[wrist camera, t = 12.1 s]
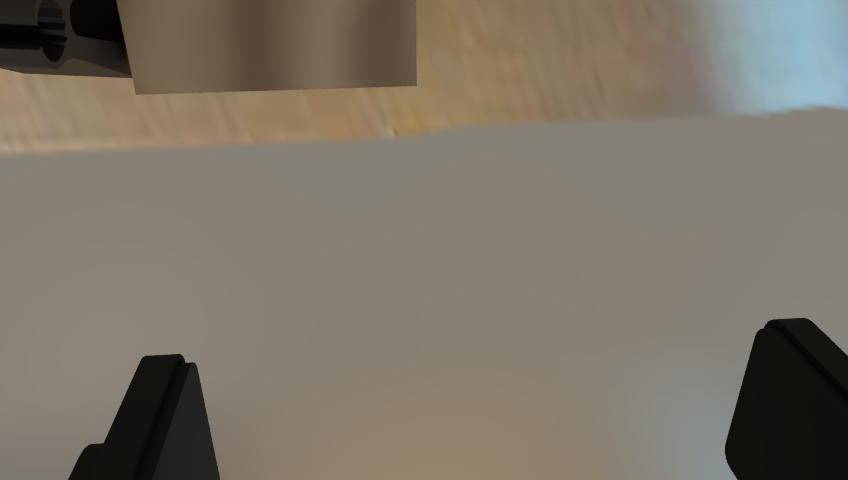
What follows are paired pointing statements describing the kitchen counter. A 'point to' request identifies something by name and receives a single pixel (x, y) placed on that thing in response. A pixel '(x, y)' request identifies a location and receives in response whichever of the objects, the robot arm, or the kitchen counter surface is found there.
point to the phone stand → (63, 38)
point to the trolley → (268, 44)
